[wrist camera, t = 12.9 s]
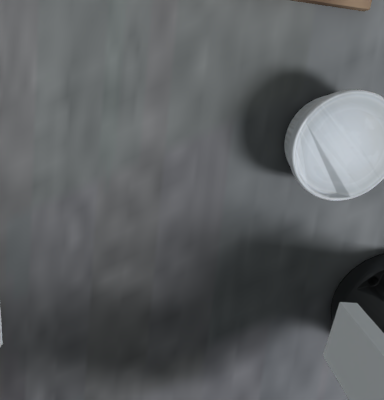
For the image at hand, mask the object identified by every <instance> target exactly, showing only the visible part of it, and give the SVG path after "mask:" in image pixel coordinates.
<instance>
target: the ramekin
mask: <svg viewBox="0 0 384 400" xmlns="http://www.w3.org/2000/svg"><path fill="white" fill-rule="evenodd" d="M284 144H285V146H284V149H285V155H286V159H287V161H288V163H289V165H290V168H291V171H292V173H293V175H294V177H295V179H296V180H297V182H298V183H299V184H300V185H301V186H302V187H303V188H304V189H305V190H306V191H307V192H309V193H310V194H312V195H314V196H316V197H319V198H322V199H325V200H332V201H341V200H348V199H351V198H355V197H357V196H360V195H362V194H364V193H366V192H368V191H369V190H371V189H372V188H374V187H375V186H376V185H377V184H378V183H380V182H381V181H382V180H383V179H384V98H383V97H382V96H380V95H378V94H376V93H373V92H370V91H365V90H358V89H349V90H342V91H338V92H335V93H332V94H330V95H326V96H322V97H320V98H316V99H314V100H313V101H310V102H309V103H308V104H306V105H304V106H303V107H302V108H301V109H300V110H299V111H298V113H297V114H296V115H295V116H294V118H293V119H292V120H291V123H290V124H289V127H288V129H287V133H286V135H285V141H284Z"/></svg>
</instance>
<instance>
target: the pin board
mask: <svg viewBox="0 0 384 400" xmlns="http://www.w3.org/2000/svg"><path fill="white" fill-rule="evenodd" d="M292 1H298V2H305V3H312V4H318V5H325V6H332V7H338V8H345V9H352V10H358V11H366V10H370V6H371V2H372V0H292Z"/></svg>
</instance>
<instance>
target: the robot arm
mask: <svg viewBox="0 0 384 400" xmlns="http://www.w3.org/2000/svg"><path fill="white" fill-rule="evenodd" d="M331 317H332V321H333V325H332V328H331V331H330V334H329V337H328V341H327V344H326V347H325V350H324V353H323V357H324V359H325V360H326V362H327V364H328V365H329V367H330V369H331V370H332V372H333V374H334V376H335V377H336V379H337V381H338V382H339V384H340V386H341V387H342V389H343V391H344V393H345V394H346V396H347V398H348V399H349V400H384V254H382V255H379V256H376V257H373V258H371V259H369V260H367V261H365V262H363V263H362V264H360V265H359V266H357V267H356V268H355V269H353V270H352V271H351V272H350V273H349V274H348V275H347V276H346V277H345V278H344V279H343V281H342V282H341V283H340V285H339V286H338V288H337V290H336V292H335V294H334V297H333V300H332V305H331ZM2 344H3V342H2V326H1V309H0V347H1V345H2Z"/></svg>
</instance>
